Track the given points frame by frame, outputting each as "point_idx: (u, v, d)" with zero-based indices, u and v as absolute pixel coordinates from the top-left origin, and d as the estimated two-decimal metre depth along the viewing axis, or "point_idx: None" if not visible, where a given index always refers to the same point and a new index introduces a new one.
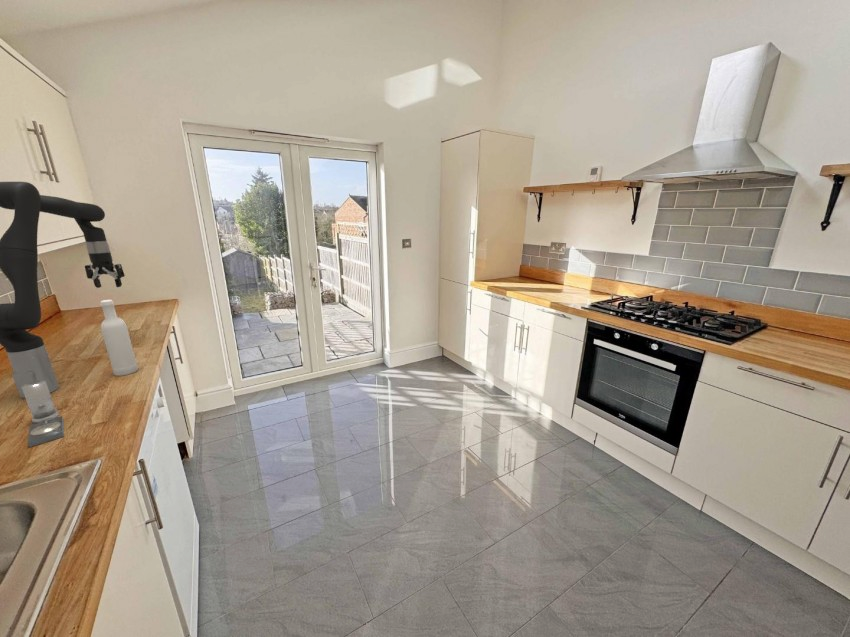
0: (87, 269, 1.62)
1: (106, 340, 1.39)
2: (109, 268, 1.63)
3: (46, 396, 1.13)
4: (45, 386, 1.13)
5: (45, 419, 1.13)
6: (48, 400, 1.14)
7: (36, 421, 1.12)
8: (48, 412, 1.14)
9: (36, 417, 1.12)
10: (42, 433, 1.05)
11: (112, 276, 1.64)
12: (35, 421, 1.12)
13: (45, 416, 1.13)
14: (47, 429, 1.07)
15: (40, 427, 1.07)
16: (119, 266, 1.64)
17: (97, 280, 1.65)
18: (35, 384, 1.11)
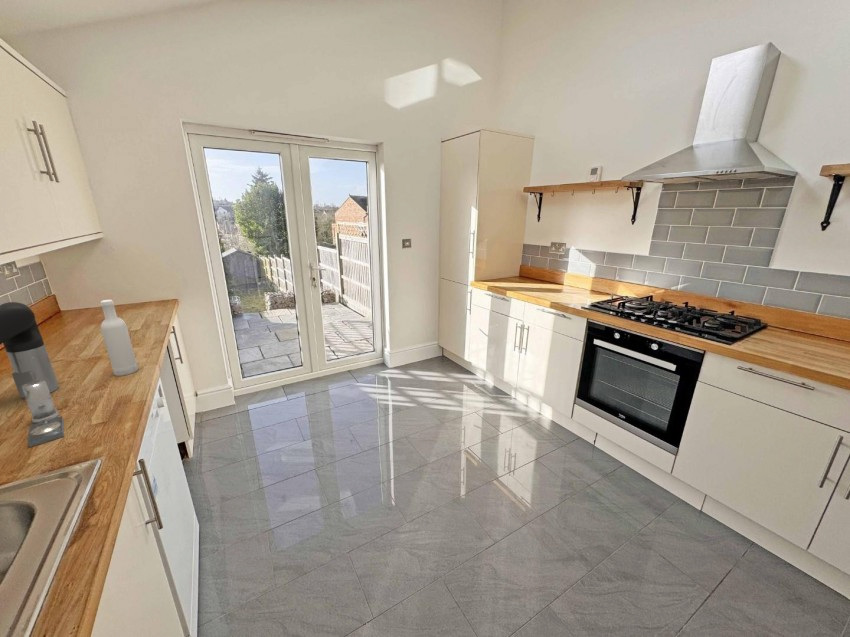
0: None
1: (106, 340, 1.39)
2: None
3: (46, 396, 1.13)
4: (45, 386, 1.13)
5: (45, 419, 1.13)
6: (48, 400, 1.14)
7: (36, 421, 1.12)
8: (48, 412, 1.14)
9: (36, 417, 1.12)
10: (42, 433, 1.05)
11: None
12: (35, 421, 1.12)
13: (45, 416, 1.13)
14: (47, 429, 1.07)
15: (40, 427, 1.07)
16: None
17: None
18: (35, 384, 1.11)
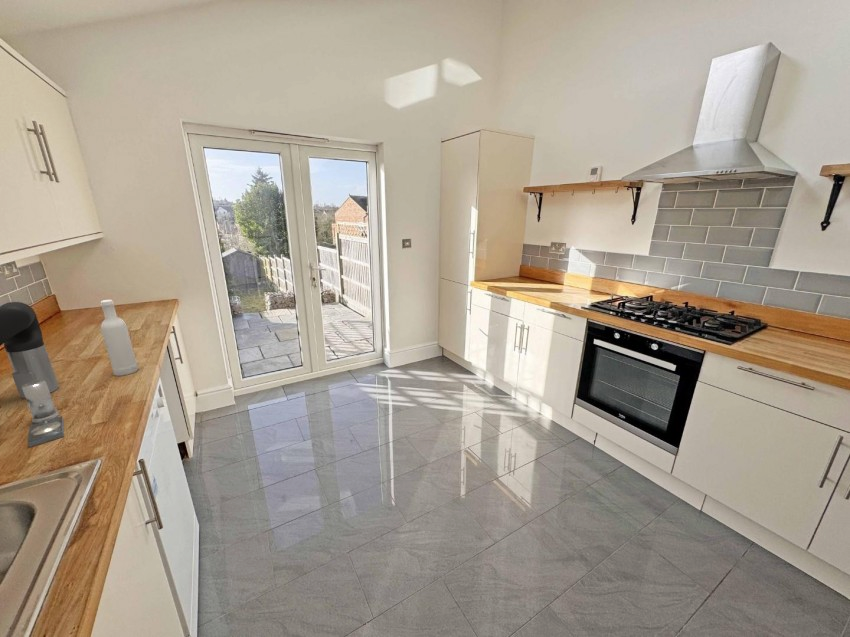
0: None
1: (106, 340, 1.39)
2: None
3: (46, 396, 1.13)
4: (45, 386, 1.13)
5: (45, 419, 1.13)
6: (48, 400, 1.14)
7: (36, 421, 1.12)
8: (48, 412, 1.14)
9: (36, 417, 1.12)
10: (42, 433, 1.05)
11: None
12: (35, 421, 1.12)
13: (45, 416, 1.13)
14: (47, 429, 1.07)
15: (40, 427, 1.07)
16: None
17: None
18: (35, 384, 1.11)
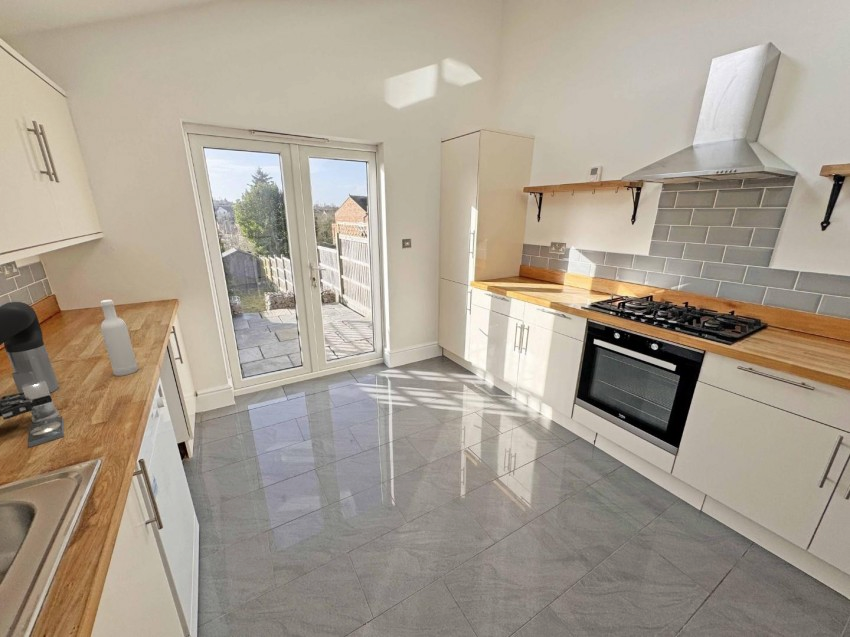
0: None
1: (106, 340, 1.39)
2: None
3: None
4: (45, 386, 1.13)
5: (45, 419, 1.13)
6: None
7: (36, 421, 1.12)
8: (48, 412, 1.14)
9: (36, 417, 1.12)
10: (42, 433, 1.05)
11: None
12: (35, 421, 1.12)
13: (45, 416, 1.13)
14: (47, 429, 1.07)
15: (40, 427, 1.07)
16: (8, 414, 1.04)
17: None
18: (35, 384, 1.11)
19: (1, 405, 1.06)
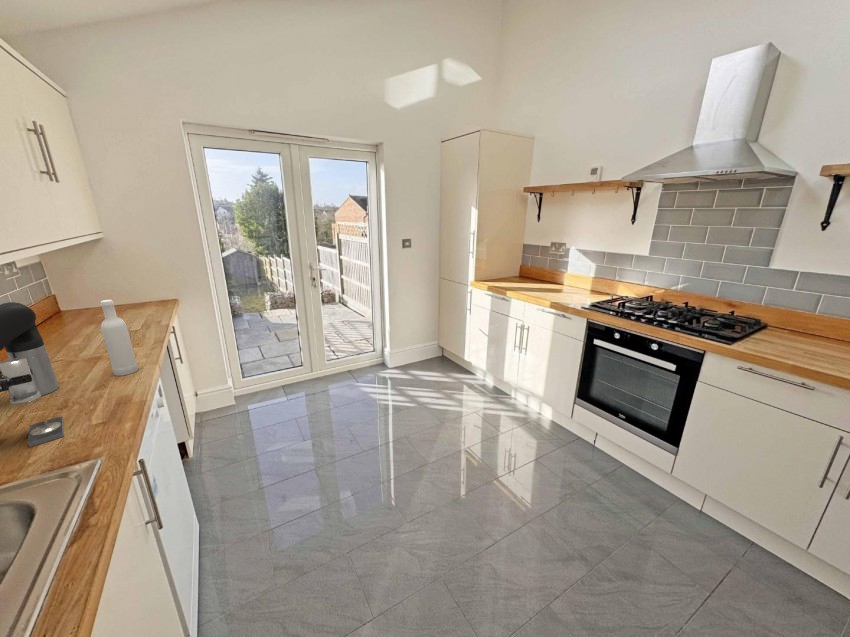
0: None
1: (106, 340, 1.39)
2: None
3: None
4: (25, 364, 1.03)
5: (24, 400, 1.03)
6: None
7: (14, 402, 1.02)
8: (28, 393, 1.04)
9: (15, 398, 1.02)
10: (42, 433, 1.05)
11: None
12: (13, 402, 1.02)
13: (24, 397, 1.03)
14: (47, 429, 1.07)
15: (40, 427, 1.07)
16: None
17: None
18: (14, 361, 1.01)
19: None
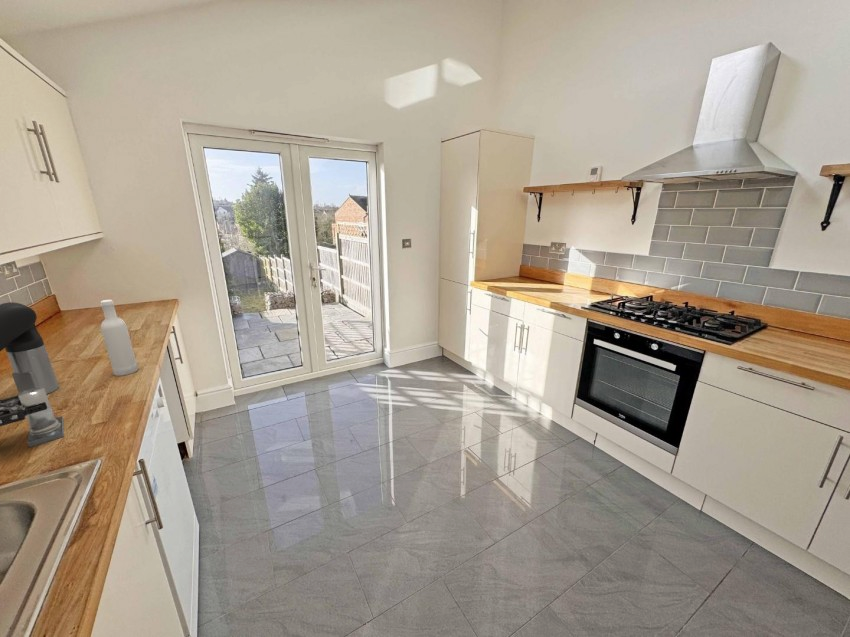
0: None
1: (106, 340, 1.39)
2: None
3: None
4: (44, 394, 1.04)
5: (44, 430, 1.05)
6: (47, 409, 1.05)
7: (34, 432, 1.04)
8: (47, 422, 1.05)
9: (35, 428, 1.04)
10: (42, 433, 1.05)
11: None
12: (33, 432, 1.04)
13: (44, 426, 1.05)
14: None
15: None
16: None
17: None
18: (33, 392, 1.03)
19: None
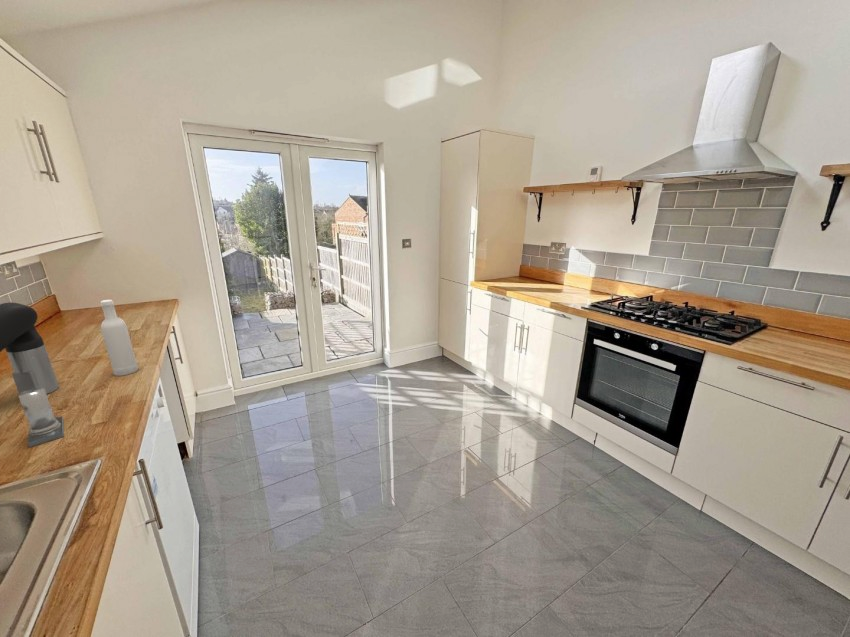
0: None
1: (106, 340, 1.39)
2: None
3: (45, 405, 1.05)
4: (44, 394, 1.04)
5: (44, 430, 1.05)
6: (47, 409, 1.05)
7: (34, 432, 1.04)
8: (47, 422, 1.05)
9: (35, 428, 1.04)
10: (42, 433, 1.05)
11: None
12: (33, 432, 1.04)
13: (44, 427, 1.05)
14: None
15: None
16: None
17: None
18: (33, 392, 1.03)
19: None
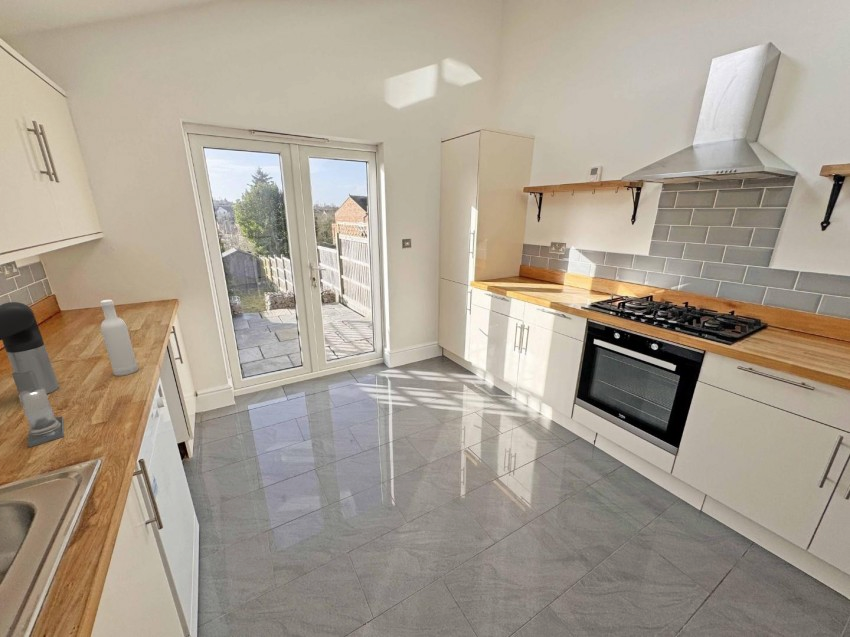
0: None
1: (106, 340, 1.39)
2: None
3: (45, 405, 1.05)
4: (44, 394, 1.04)
5: (44, 430, 1.05)
6: (47, 409, 1.05)
7: (34, 432, 1.04)
8: (47, 422, 1.05)
9: (35, 428, 1.04)
10: (42, 433, 1.05)
11: None
12: (33, 432, 1.04)
13: (44, 427, 1.05)
14: None
15: None
16: None
17: None
18: (33, 392, 1.03)
19: None
